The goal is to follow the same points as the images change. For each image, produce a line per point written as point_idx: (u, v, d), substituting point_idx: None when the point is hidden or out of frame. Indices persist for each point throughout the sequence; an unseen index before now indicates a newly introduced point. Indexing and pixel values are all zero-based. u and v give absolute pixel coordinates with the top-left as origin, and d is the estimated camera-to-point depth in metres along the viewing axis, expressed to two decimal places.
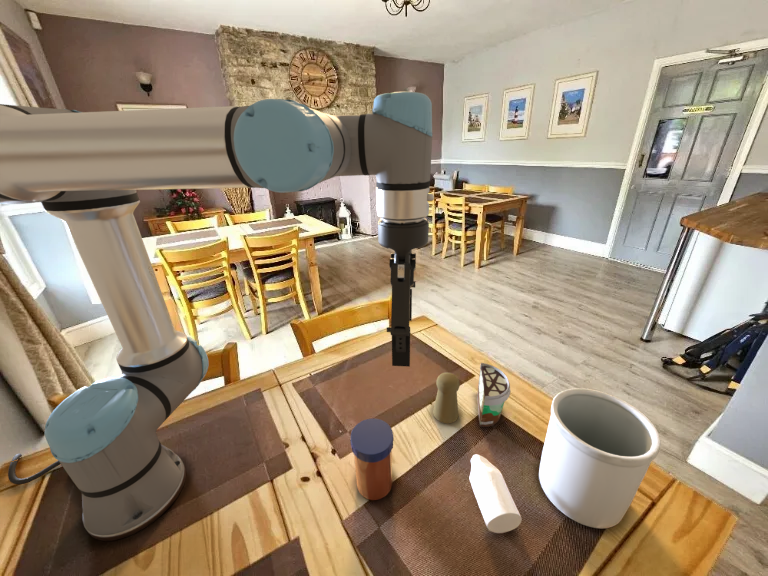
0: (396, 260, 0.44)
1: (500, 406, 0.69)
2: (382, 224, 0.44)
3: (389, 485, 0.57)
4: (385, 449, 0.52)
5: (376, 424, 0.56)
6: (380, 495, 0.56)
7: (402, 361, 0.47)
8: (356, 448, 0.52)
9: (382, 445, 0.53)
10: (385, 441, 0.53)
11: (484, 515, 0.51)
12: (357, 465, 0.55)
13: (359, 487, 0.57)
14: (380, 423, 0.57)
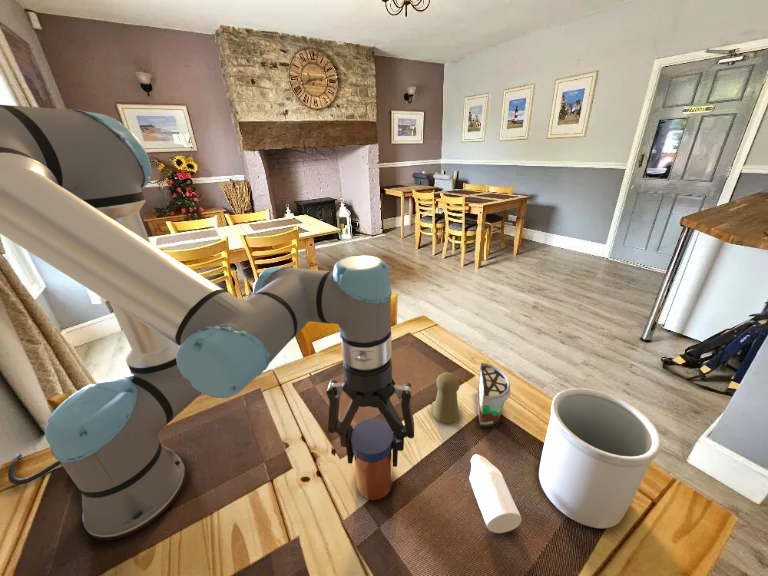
0: (344, 380, 0.51)
1: (500, 406, 0.69)
2: None
3: (389, 485, 0.57)
4: (385, 449, 0.52)
5: (376, 424, 0.56)
6: (380, 495, 0.56)
7: None
8: (356, 448, 0.52)
9: (382, 445, 0.53)
10: (385, 441, 0.53)
11: (484, 515, 0.51)
12: (357, 465, 0.55)
13: (359, 487, 0.57)
14: (380, 423, 0.57)
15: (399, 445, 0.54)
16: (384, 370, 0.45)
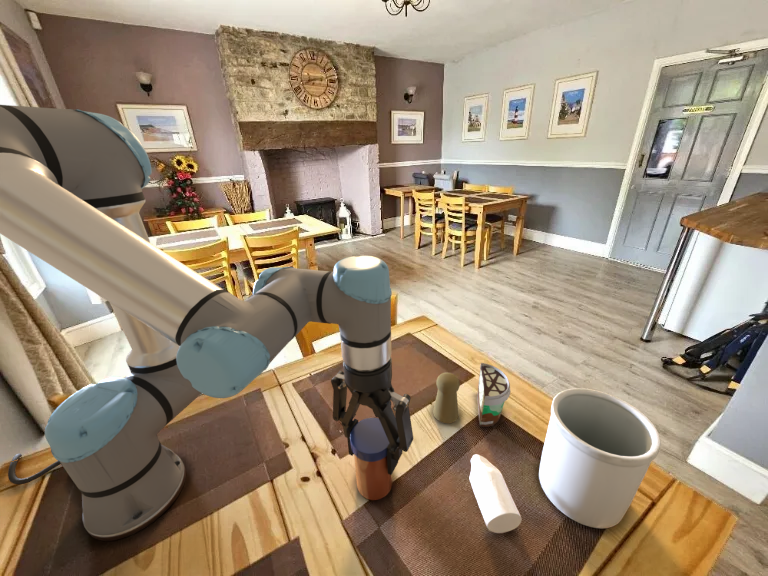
0: (389, 396, 0.47)
1: (500, 406, 0.69)
2: (370, 374, 0.44)
3: (389, 485, 0.57)
4: (366, 419, 0.57)
5: (361, 443, 0.53)
6: (380, 495, 0.56)
7: (395, 464, 0.55)
8: None
9: (367, 422, 0.57)
10: (362, 424, 0.56)
11: (484, 515, 0.51)
12: (357, 465, 0.55)
13: (359, 487, 0.57)
14: (357, 443, 0.53)
15: None
16: None
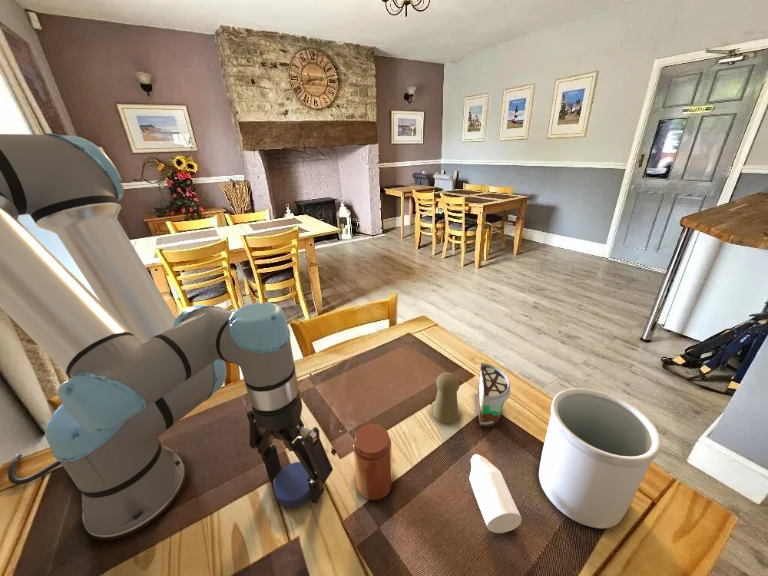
0: (297, 431, 0.50)
1: (500, 406, 0.69)
2: (273, 414, 0.47)
3: (389, 485, 0.57)
4: (292, 463, 0.62)
5: (283, 490, 0.57)
6: (380, 495, 0.56)
7: (320, 492, 0.57)
8: None
9: (292, 467, 0.61)
10: (288, 469, 0.60)
11: (484, 515, 0.51)
12: (357, 465, 0.55)
13: (359, 487, 0.57)
14: (279, 490, 0.57)
15: None
16: None
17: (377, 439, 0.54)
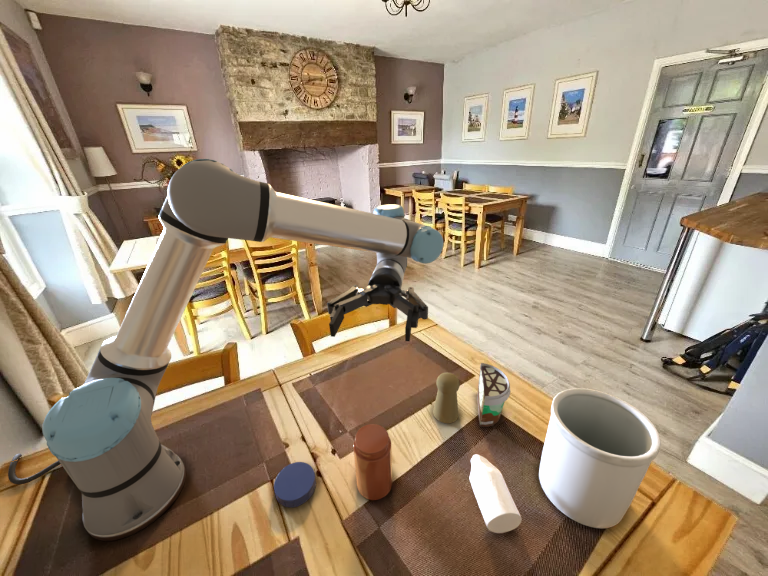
0: (400, 289, 0.68)
1: (500, 406, 0.69)
2: (395, 271, 0.71)
3: (389, 485, 0.57)
4: (292, 463, 0.62)
5: (283, 490, 0.57)
6: (380, 495, 0.56)
7: None
8: (313, 472, 0.60)
9: (292, 467, 0.61)
10: (288, 469, 0.60)
11: (484, 515, 0.51)
12: (357, 465, 0.55)
13: (359, 487, 0.57)
14: (279, 490, 0.57)
15: None
16: None
17: (377, 439, 0.54)
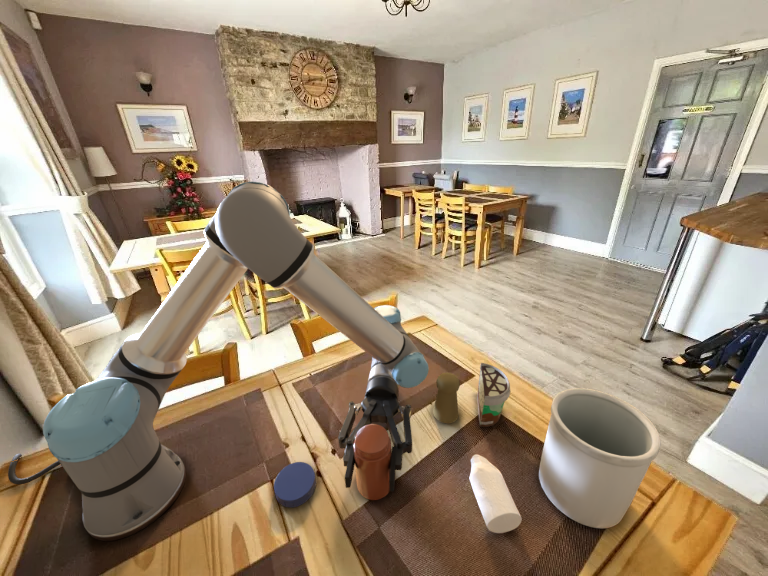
0: None
1: (500, 406, 0.69)
2: (391, 380, 0.71)
3: None
4: (292, 463, 0.62)
5: (283, 490, 0.57)
6: (380, 495, 0.56)
7: None
8: (313, 472, 0.60)
9: (292, 467, 0.61)
10: (288, 469, 0.60)
11: (484, 515, 0.51)
12: (357, 465, 0.55)
13: (359, 487, 0.57)
14: (279, 490, 0.57)
15: None
16: None
17: (377, 439, 0.54)
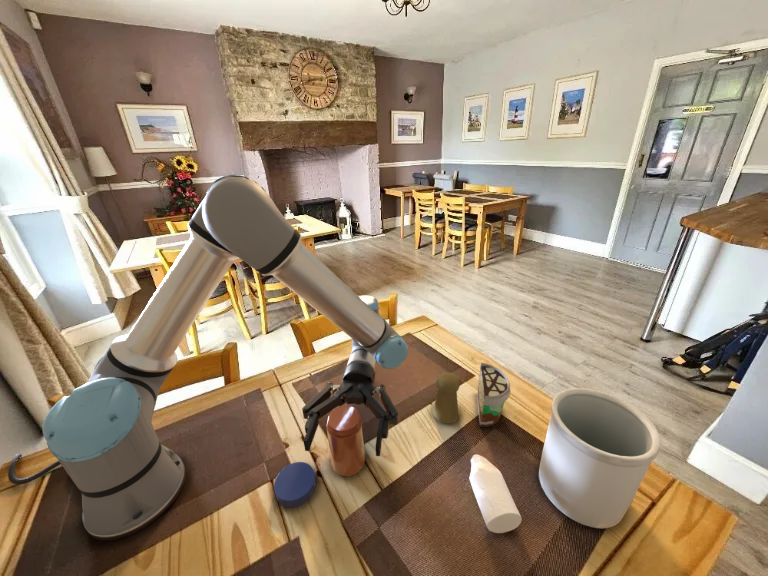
0: (373, 386, 0.72)
1: (500, 406, 0.69)
2: (368, 365, 0.75)
3: (361, 462, 0.62)
4: (292, 463, 0.62)
5: (283, 490, 0.57)
6: (352, 472, 0.61)
7: (380, 447, 0.58)
8: (313, 472, 0.60)
9: (292, 467, 0.61)
10: (288, 469, 0.60)
11: (484, 515, 0.51)
12: (330, 443, 0.59)
13: (333, 464, 0.61)
14: (279, 490, 0.57)
15: None
16: None
17: (348, 419, 0.59)
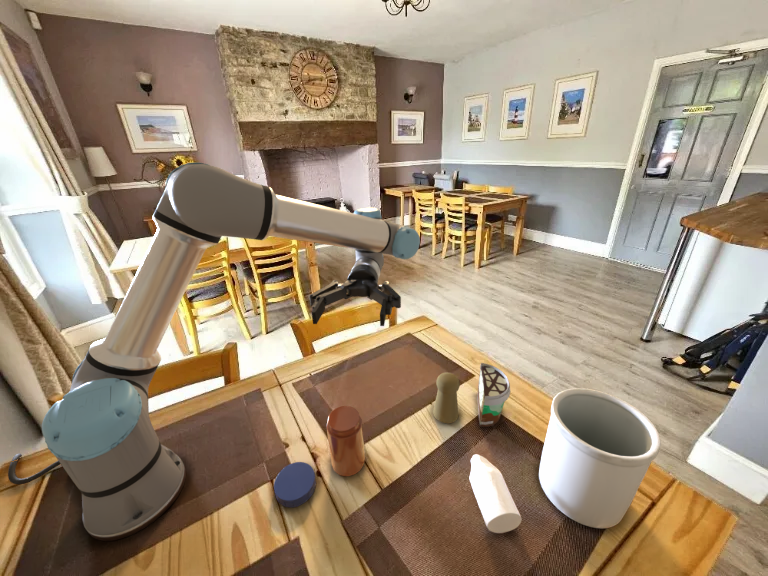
0: (376, 283, 0.75)
1: (500, 406, 0.69)
2: (371, 268, 0.78)
3: (361, 462, 0.62)
4: (292, 463, 0.62)
5: (283, 490, 0.57)
6: (352, 472, 0.61)
7: (384, 318, 0.61)
8: (313, 472, 0.60)
9: (292, 467, 0.61)
10: (288, 469, 0.60)
11: (484, 515, 0.51)
12: (330, 443, 0.59)
13: (333, 464, 0.61)
14: (279, 490, 0.57)
15: None
16: None
17: (348, 419, 0.59)
